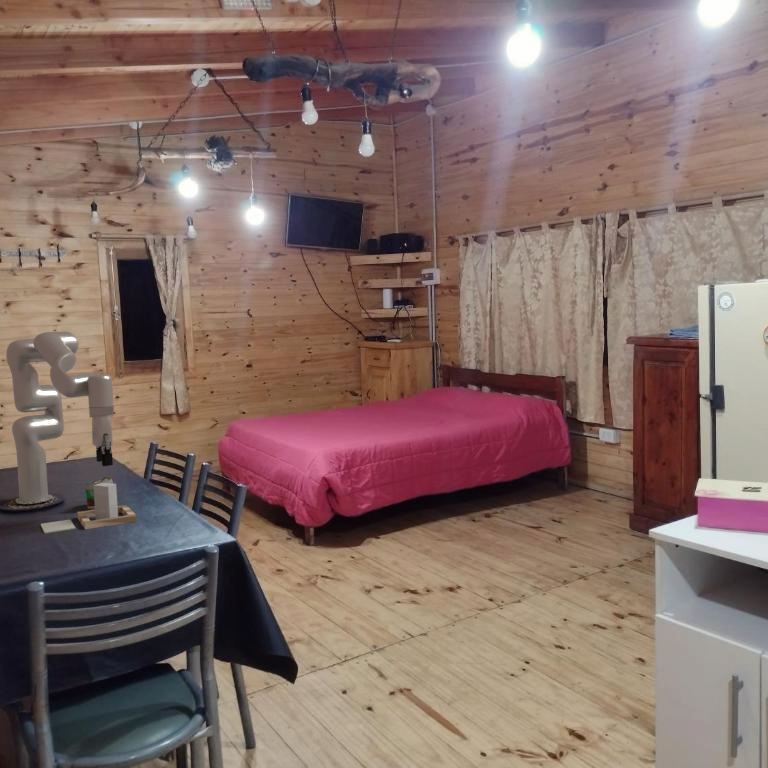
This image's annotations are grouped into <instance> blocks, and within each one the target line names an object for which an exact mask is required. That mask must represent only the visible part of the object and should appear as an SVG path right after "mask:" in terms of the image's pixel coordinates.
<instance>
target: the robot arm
mask: <svg viewBox="0 0 768 768" xmlns="http://www.w3.org/2000/svg"><path fill="white" fill-rule="evenodd" d="M78 349H79V340H78V338H77V337H76V336H75V334H73V333H72V332H70V331H45V332H42V333H41V332H40V333H39V334H37V335H36V336H35V338H22V339H17V340H14V341H12V342H10V343H9V344H8V346H7V348H6V351H5V353H6V354H5V355H6V356H5V357H6V362H7V365H8V369H10V373H11V374H10V375H11V378H12V389H13V400H14V401H13V402H14V406H15V409H16V410H17V411H18V412H19V413H34V412H44V414H37V415H36V414H35V415H26V416H22V417H19V418H17V419H16V420H14V421H13V423H12V427H11V432H12V436H13V440H14V444H15V451H16V460H17V461H16V462H17V464H16V465H17V479H18V493H19V495H18V496H19V497H17V498H16V499H15V500H18V499H19V500H21V501H24V502H26V503H30V502H35V501H36V502H40V501H45V500H49V499H52V498H53V499H54V497H53V495H52V494H49V491H48V490H49V488H48V470H47V469H48V468H47V455H46V451H45V449H44V448H43V446H41V444H40V443H39V442H41V441H42V442H43V441H48V440H54V439H57V438H60V437H61V436H62V435H63V433H64V429H65V428H64V427H65V426H64V425H65V423H64V413H63V411H64V410H63V399H62V395H63V396H64V397H66V398H79V397H88V411H89V412H88V414H89V418H91V419H92V420H91V435H92V436H91V439H92V440H91V442H92V445H93V446H94V447H95V448H96V449H95V450H96V451H95V454H96V455H95V456H96V462H98V463H99V462H101V466H103V467H110V466H113V462H114V461H113V451H112V446H113V427H112V418H111V417H114V416H115V410H114V408H115V407H114V392H113V391H114V390H113V378H112V376H111V375H110V374H108V373H107V374H105V373H103V374H101V373H97V372H89V373H88V372H87V373H75V374H74V373H73V374H69V373H67V372H70V371H71V370H72V369H73V368H74V366H75V365H76V364H77V363H76V362H77V356H76V353H77V351H78ZM43 362H44V363H45V362H46V363H47V364H48V365H49V366H50V370H49V377H50V381H51V384H41V385H40V382H39V374H38V371H37V370H36V368H35V367H34V366H33V364H32V363H43ZM53 499H52V500H53Z"/></svg>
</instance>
